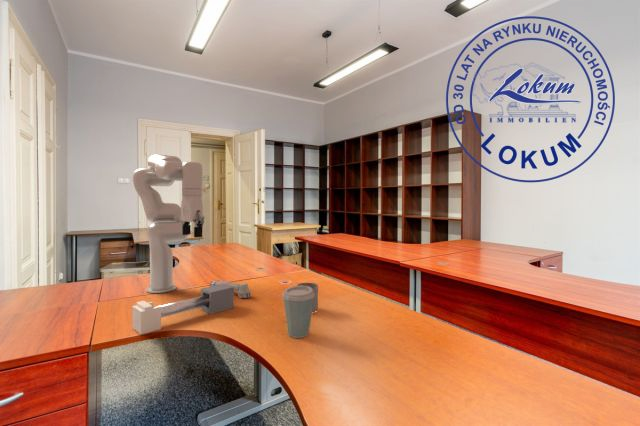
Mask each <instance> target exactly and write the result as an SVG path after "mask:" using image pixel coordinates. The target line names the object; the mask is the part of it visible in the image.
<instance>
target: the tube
mask: <svg viewBox="0 0 640 426" xmlns="http://www.w3.org/2000/svg"><path fill="white" fill-rule="evenodd" d="M208 305H209V296H208V295H204V296H201V295H200V296H196V297H192V298H188V299H184V300H178V301H176V302H175V301H174V302H171V303H166V304H163V305H162V304H161V305H158V306H153V308H155V307H159V306H160V307H161V319H162V318H164V317H166V318H167V317H169V316H172V315H177V314H181V313H184V312H188V311H192V310H196V309H201V307H204V306H208Z"/></svg>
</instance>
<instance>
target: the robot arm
mask: <svg viewBox="0 0 640 426" xmlns="http://www.w3.org/2000/svg"><path fill="white" fill-rule="evenodd" d="M147 166H148V167H145V168H144V167H143V168H138V169H136V170H135V171H133V175H132V183H133V186H134V189H135V192H137V194H138V196H139V198H140V200H141V203H142V207H143V210H144V213H145V216H146V219H147V221H148V222H149V223H150V225H149V226H148V227H147V230H146V231H147V233H146V234H147V238H148V245H149V286H147V287H146V288H145V291H146V292H147V293H151V294H163V293H168V292H172V291H174V290H176V289H177V285H176V284H174V283H173V282H174V281H173V280H174V279H173V278H174V277H173V273H174V272H173V270H174V269H173V266H174V265H173V264H174V263H173V262H174V260H173V257H174V256H173V254H174V253H173V250H172V248H171V247H170V246H169V245H168V243H174V242H176V243H177V242H183V241H186V239H187V238H188V237H189V235H191V234H192V233H191V228H192V227H191V226H192V225H191V223H192V222H193V224H194V227H193V238H203V227H204V223H205V221H204V220H205V215H204V209H203V208H204V207H203V199H202V198H203V165H202V164H201V163H200V162H196V161H184V162H182V159H180V157H178V156H177V155H176V156H175V155H167V154H153V155H151V156H149V158H148V160H147ZM176 181H177V182H179V181H180V182H181V189H182V190H181V198H182V199H181V204H177V203H172V202H163V199H162V196H161V194H160V193H159V192H158V191H157V189H155V188H153V187H171V186H172V185H174V183H175V182H176Z"/></svg>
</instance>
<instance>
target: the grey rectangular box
mask: <svg viewBox="0 0 640 426" xmlns="http://www.w3.org/2000/svg"><path fill="white" fill-rule="evenodd" d="M200 289H201V291H200V292H201V295H200V296H204V295H208V296H209V305H208V306H204V307H200V309H201V311H203V312H205V313H206V314H208V315H213V314H217V313H221V312H223V311H227V310H231V309H234V303H235V301H234V300H235V297H234V296H235V291H234V287H232V286H229V285H226V284H220V285H216V286H211V287H210V286H208V287H203V288H202V287H201V288H200Z"/></svg>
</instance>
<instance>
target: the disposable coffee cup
mask: <svg viewBox="0 0 640 426" xmlns="http://www.w3.org/2000/svg"><path fill="white" fill-rule="evenodd" d="M314 296H315V295H314V292H313V289H312V288H311V287H308V286H302V285H299V286H297V285H293V286H289V287H287V288H286V289H284V291H283V292H282V293H281V297H282V299H283V300H282V301H283V307H284V312H285V320H286V326H287V333H288V335H289V337H291V338H294V339H302V338H306V337H307V336H308V335H309V332H310V327H311V320H312V307H313V300H314Z"/></svg>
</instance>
